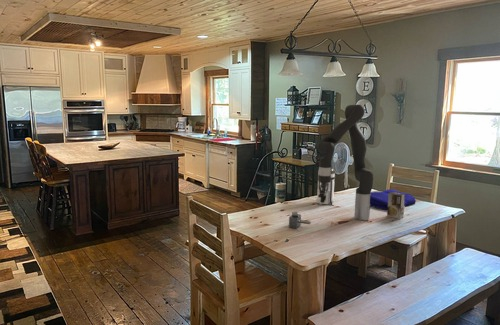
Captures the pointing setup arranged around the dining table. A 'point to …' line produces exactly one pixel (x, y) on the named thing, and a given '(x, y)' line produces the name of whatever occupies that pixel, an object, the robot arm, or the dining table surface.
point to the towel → (381, 199)
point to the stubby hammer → (296, 221)
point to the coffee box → (396, 205)
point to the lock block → (326, 200)
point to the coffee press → (330, 187)
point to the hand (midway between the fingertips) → (323, 201)
